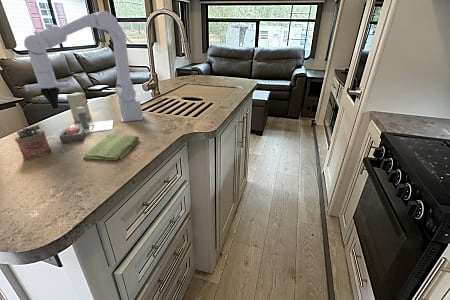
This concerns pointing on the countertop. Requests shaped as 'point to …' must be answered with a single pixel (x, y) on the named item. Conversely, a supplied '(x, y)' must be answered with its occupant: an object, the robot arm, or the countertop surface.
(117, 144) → the washcloth
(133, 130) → the countertop surface
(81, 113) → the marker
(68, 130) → the button
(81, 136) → the button housing
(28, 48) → the robot arm
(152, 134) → the countertop surface
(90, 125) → the paper sheet
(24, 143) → the lighter
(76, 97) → the skincare box
